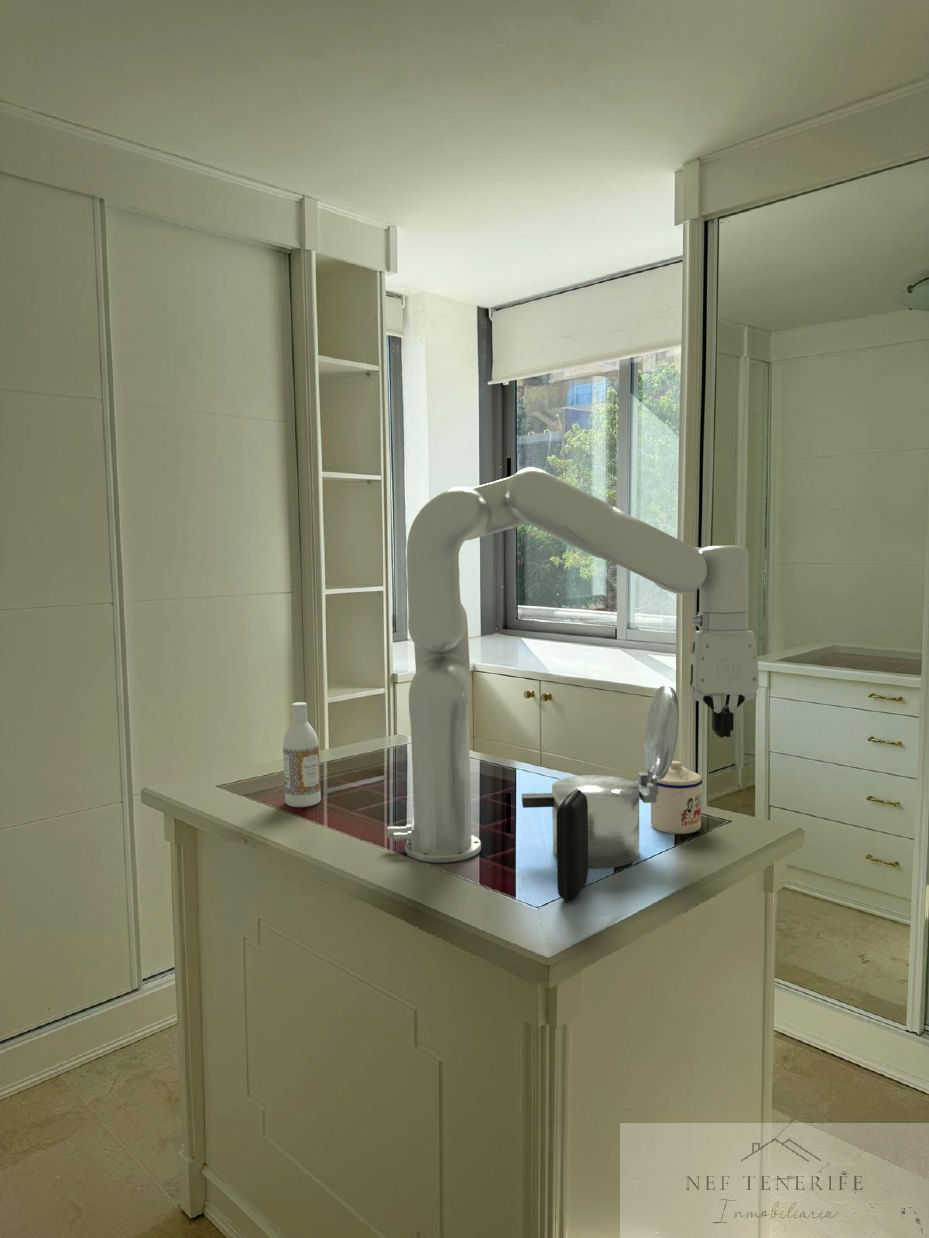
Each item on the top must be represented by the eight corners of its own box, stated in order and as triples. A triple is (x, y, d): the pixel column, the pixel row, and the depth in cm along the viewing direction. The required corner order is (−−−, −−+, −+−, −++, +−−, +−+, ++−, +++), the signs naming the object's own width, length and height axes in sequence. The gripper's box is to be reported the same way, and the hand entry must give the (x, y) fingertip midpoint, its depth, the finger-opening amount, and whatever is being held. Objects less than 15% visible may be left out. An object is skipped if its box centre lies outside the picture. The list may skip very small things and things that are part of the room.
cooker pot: (527, 870, 139) (525, 795, 138) (519, 839, 153) (518, 771, 151) (662, 866, 139) (662, 791, 138) (643, 836, 153) (643, 767, 152)
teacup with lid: (690, 838, 152) (690, 771, 150) (640, 828, 157) (640, 764, 156) (715, 819, 161) (716, 756, 160) (668, 811, 167) (668, 750, 165)
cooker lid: (676, 695, 136) (697, 698, 136) (654, 679, 151) (672, 682, 151) (658, 796, 137) (679, 799, 138) (638, 771, 152) (656, 774, 152)
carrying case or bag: (572, 878, 135) (571, 783, 134) (592, 880, 134) (591, 784, 133) (554, 905, 125) (553, 803, 124) (576, 908, 124) (575, 805, 123)
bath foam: (298, 810, 172) (294, 708, 170) (278, 803, 177) (274, 703, 175) (327, 802, 177) (324, 702, 175) (307, 795, 182) (304, 698, 180)
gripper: (683, 626, 139) (682, 741, 141) (778, 624, 139) (776, 739, 141) (671, 621, 146) (670, 731, 148) (761, 619, 146) (760, 729, 148)
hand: (722, 735), depth 144 cm, fingers closed
